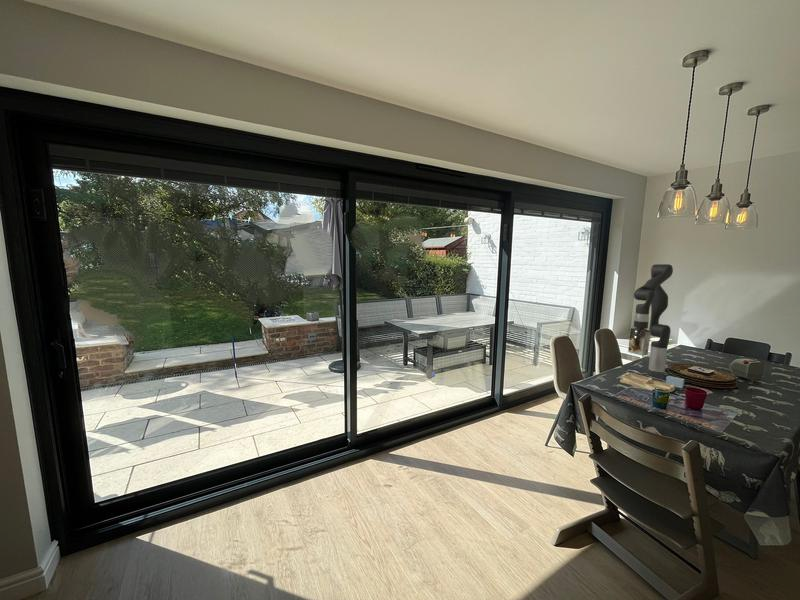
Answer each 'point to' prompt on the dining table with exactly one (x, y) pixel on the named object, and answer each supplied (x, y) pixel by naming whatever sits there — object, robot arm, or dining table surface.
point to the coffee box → (643, 342)
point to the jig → (645, 382)
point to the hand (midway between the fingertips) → (638, 345)
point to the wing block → (675, 381)
